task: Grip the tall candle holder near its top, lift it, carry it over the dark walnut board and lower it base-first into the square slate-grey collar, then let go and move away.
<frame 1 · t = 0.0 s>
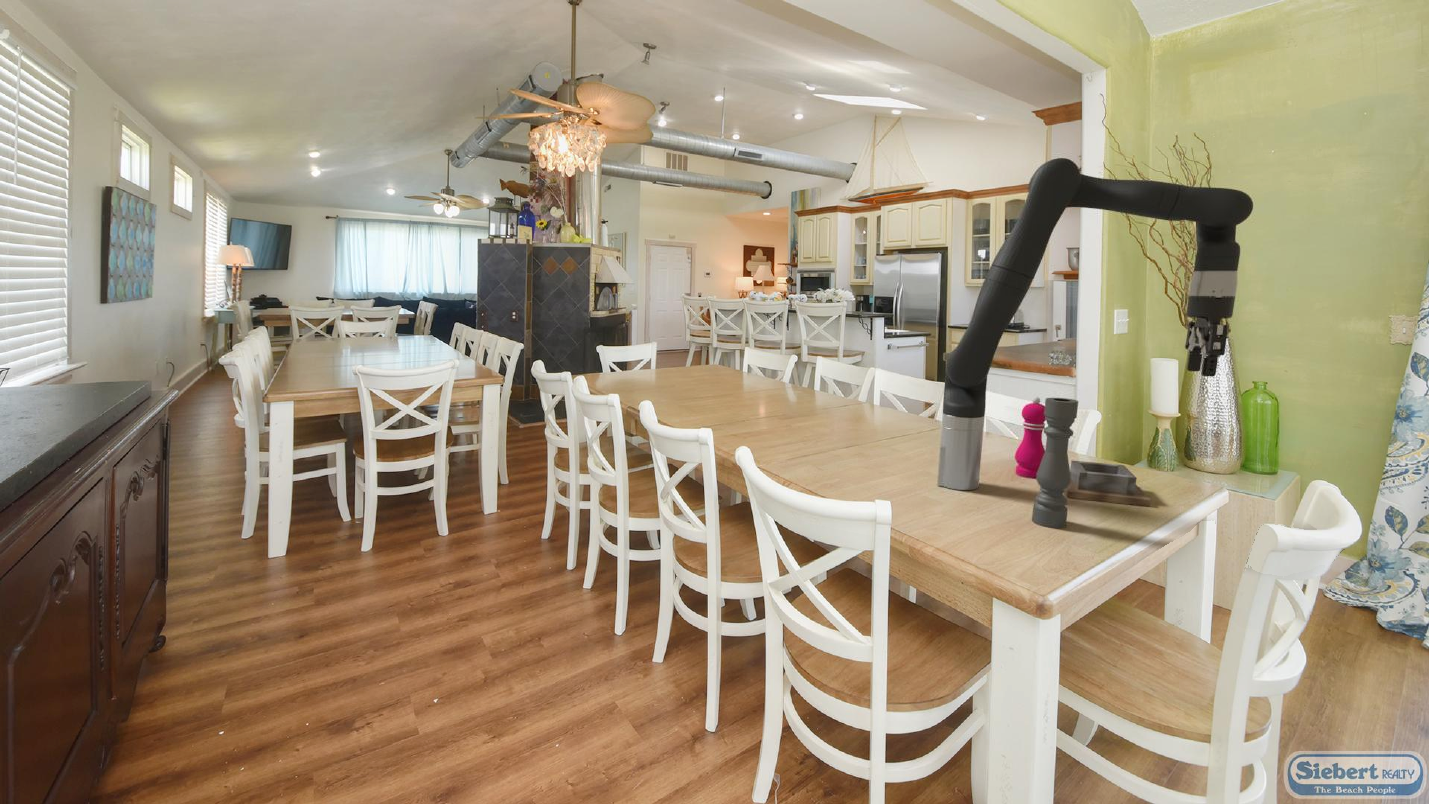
hand: (1200, 373, 131), 29 cm above the table, tool pointing down, fingers open, 8 cm apart
pepper mill: (1028, 475, 160), on the table
socket board: (1099, 491, 147), on the table
candle holder: (1048, 523, 127), on the table
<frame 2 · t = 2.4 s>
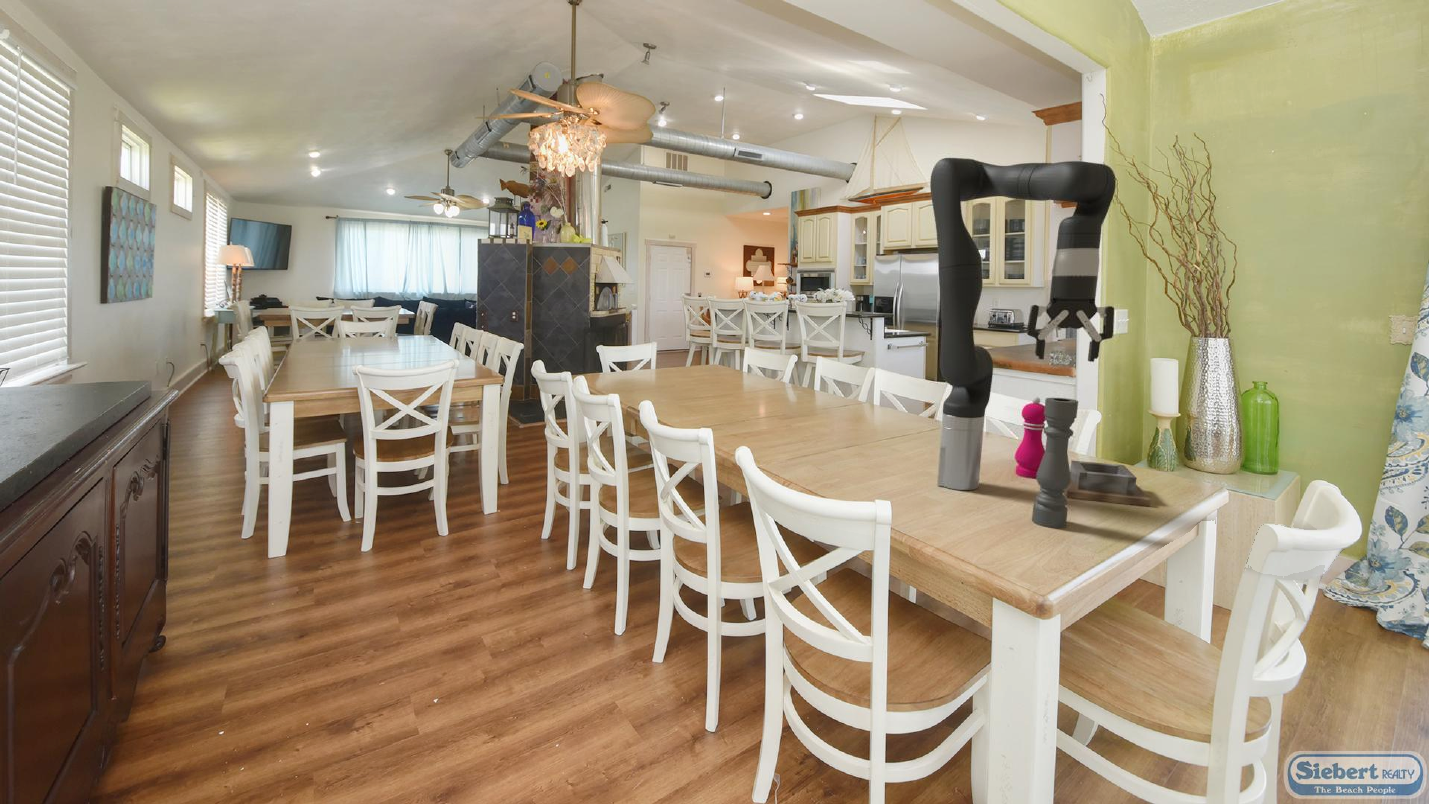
hand: (1065, 360, 121), 33 cm above the table, tool pointing down, fingers open, 8 cm apart
nothing on the table moved.
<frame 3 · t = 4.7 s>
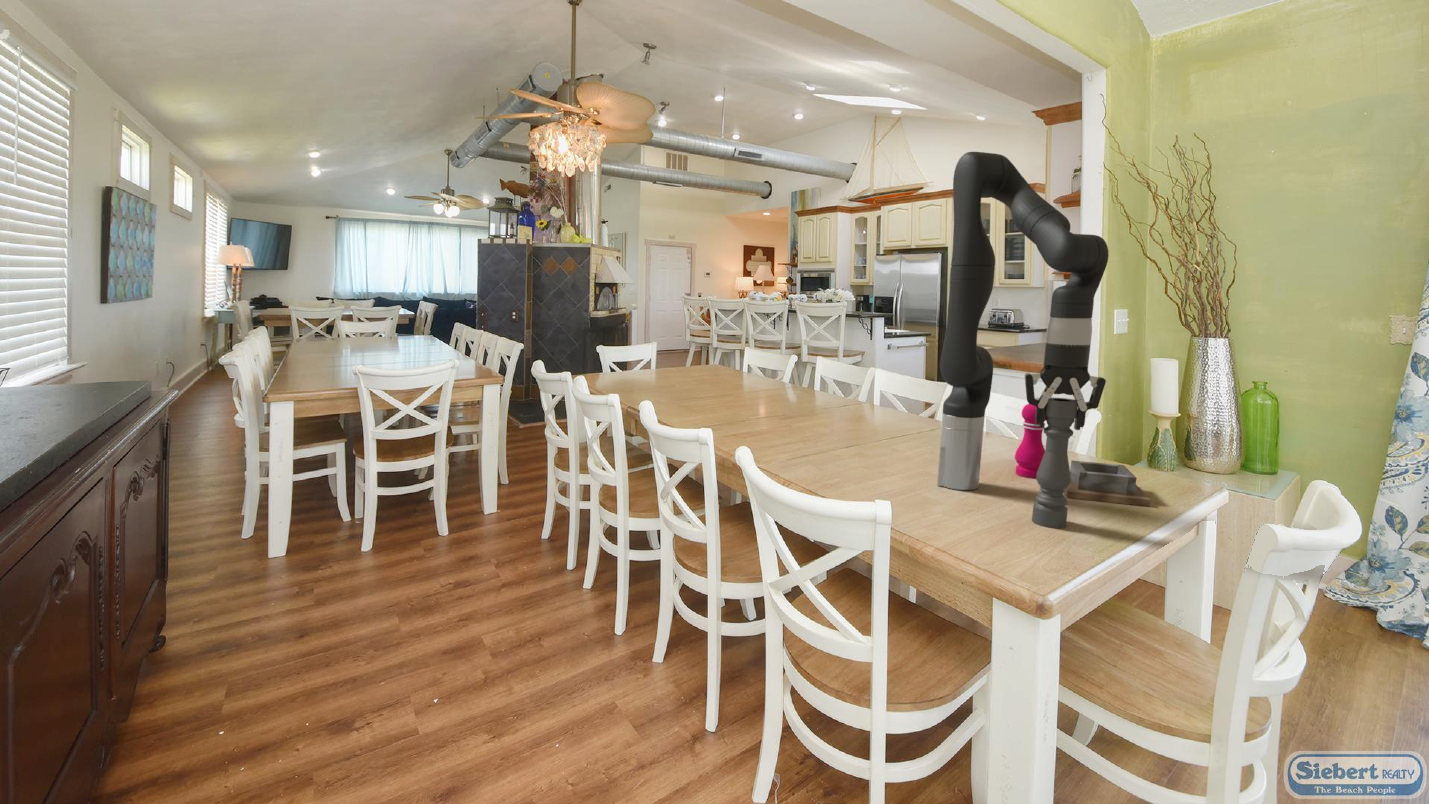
hand: (1058, 427, 124), 20 cm above the table, tool pointing down, fingers closed on candle holder, 5 cm apart
candle holder: (1048, 523, 127), on the table, touching gripper
everything else where it was.
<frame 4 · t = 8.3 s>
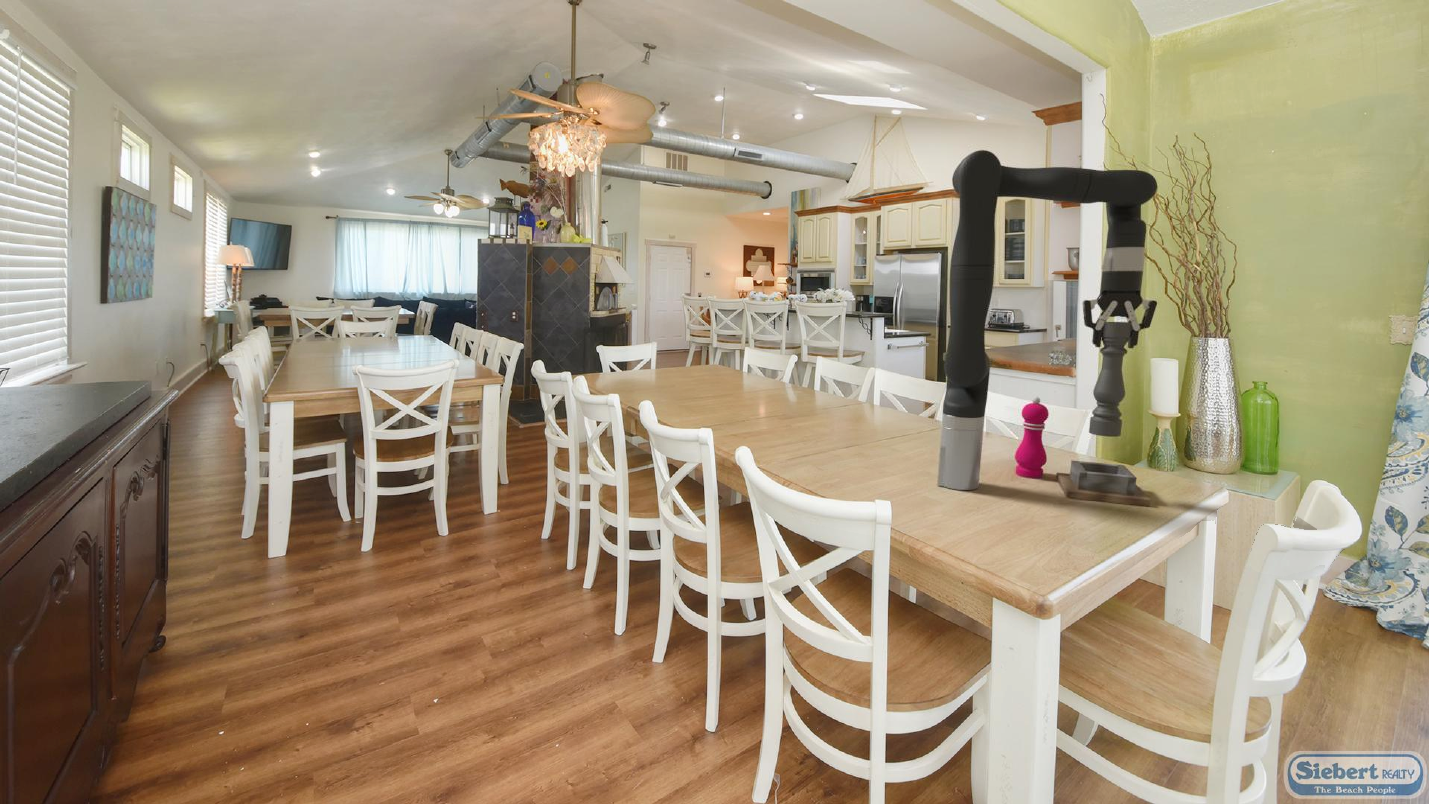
hand: (1114, 347, 140), 34 cm above the table, tool pointing down, fingers closed on candle holder, 5 cm apart
candle holder: (1104, 434, 143), point 14 cm above the table, touching gripper
everything else where it was.
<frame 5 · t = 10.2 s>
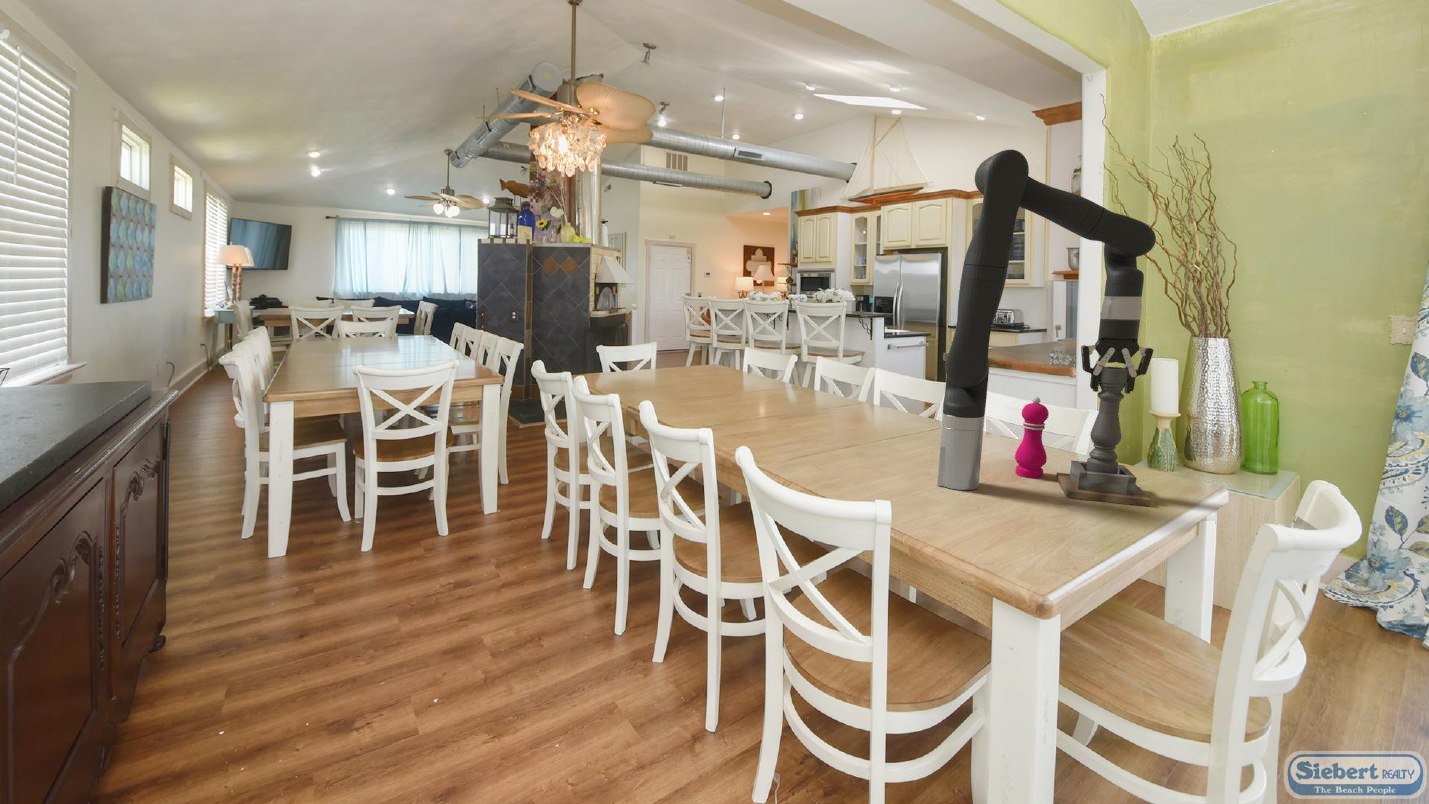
hand: (1111, 392, 143), 24 cm above the table, tool pointing down, fingers closed on candle holder, 5 cm apart
candle holder: (1100, 475, 146), point 4 cm above the table, touching gripper
everything else where it was.
when the fingers open (22 cm above the table, at t = 11.7 s): candle holder stays where it is, resting on socket board.
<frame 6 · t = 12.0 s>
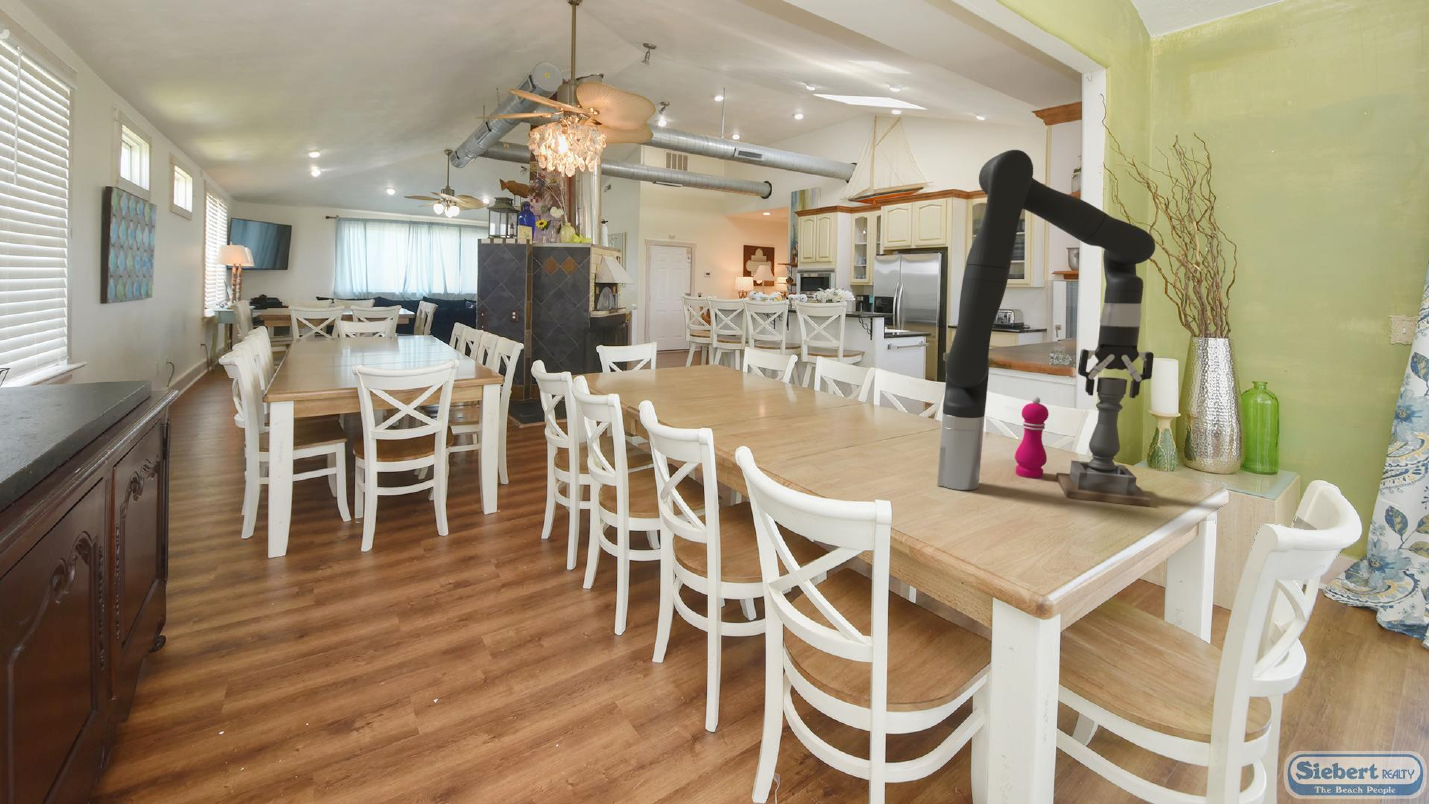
hand: (1111, 396, 143), 23 cm above the table, tool pointing down, fingers open, 8 cm apart
candle holder: (1099, 486, 147), point 1 cm above the table, touching socket board
everything else where it was.
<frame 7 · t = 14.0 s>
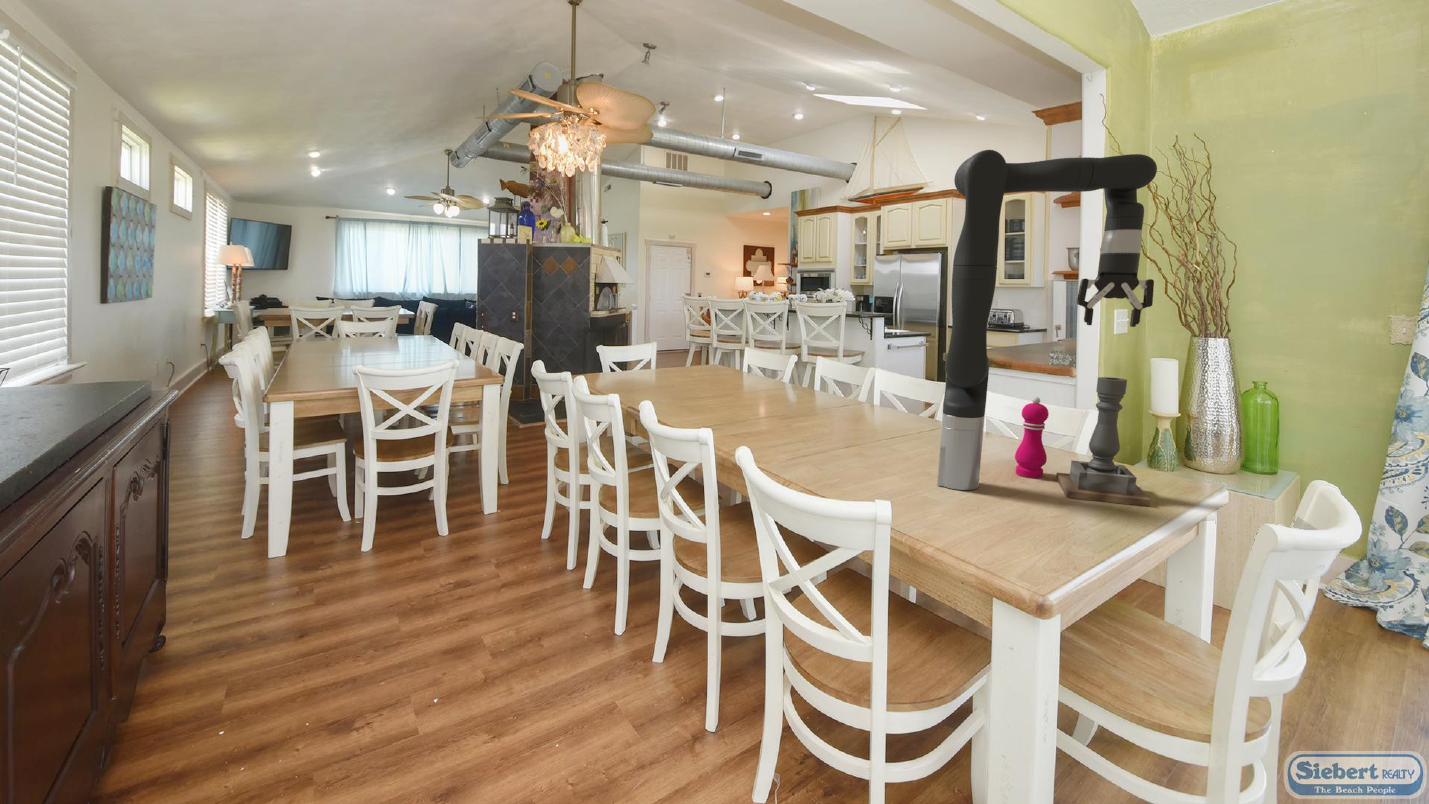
hand: (1110, 325, 142), 38 cm above the table, tool pointing down, fingers open, 8 cm apart
nothing on the table moved.
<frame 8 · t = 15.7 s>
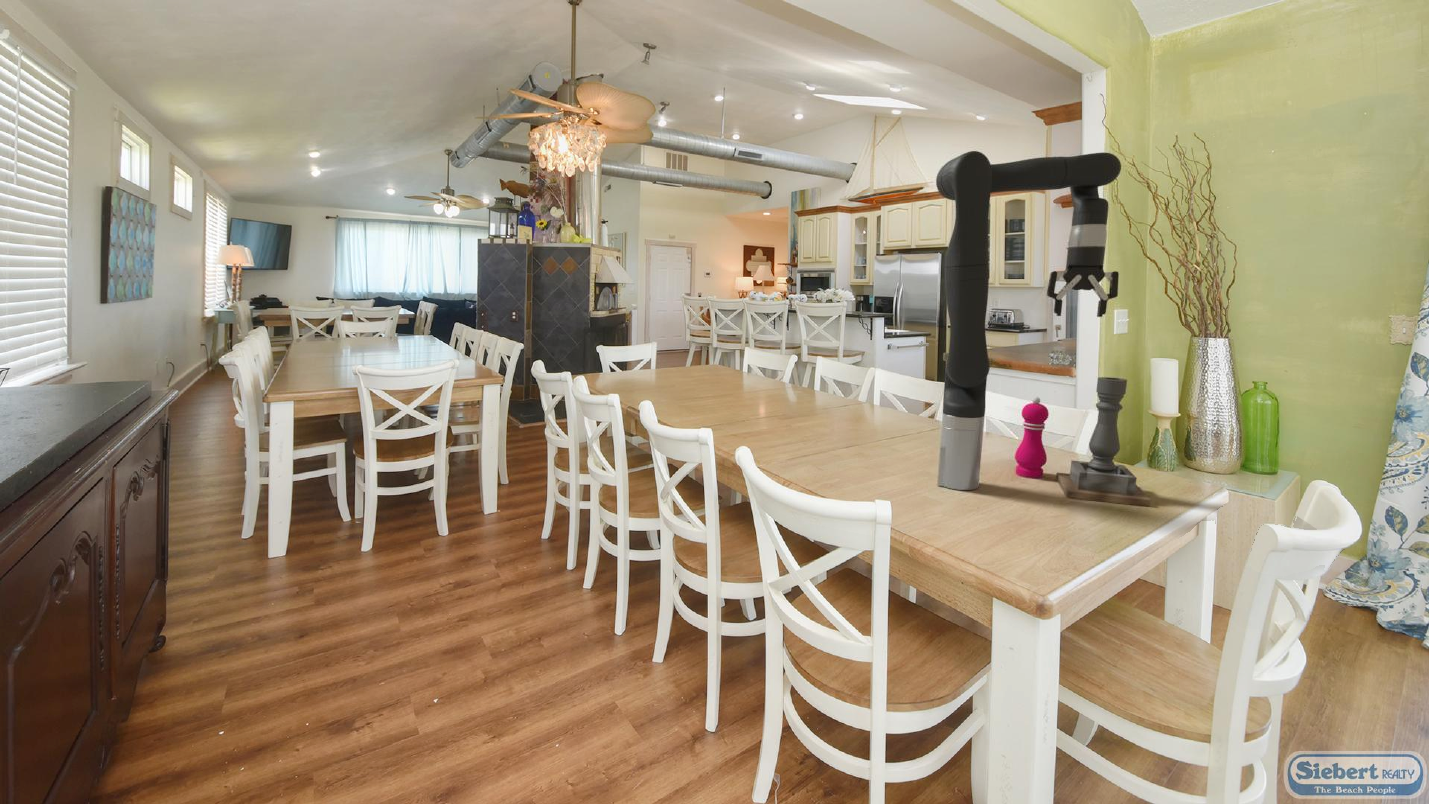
hand: (1079, 316, 149), 40 cm above the table, tool pointing down, fingers open, 8 cm apart
nothing on the table moved.
at the end: candle holder 0.2 cm off-centre on the socket board, point 1.3 cm above the socket board's base; candle holder tilted 0°; the gripper is holding nothing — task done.
